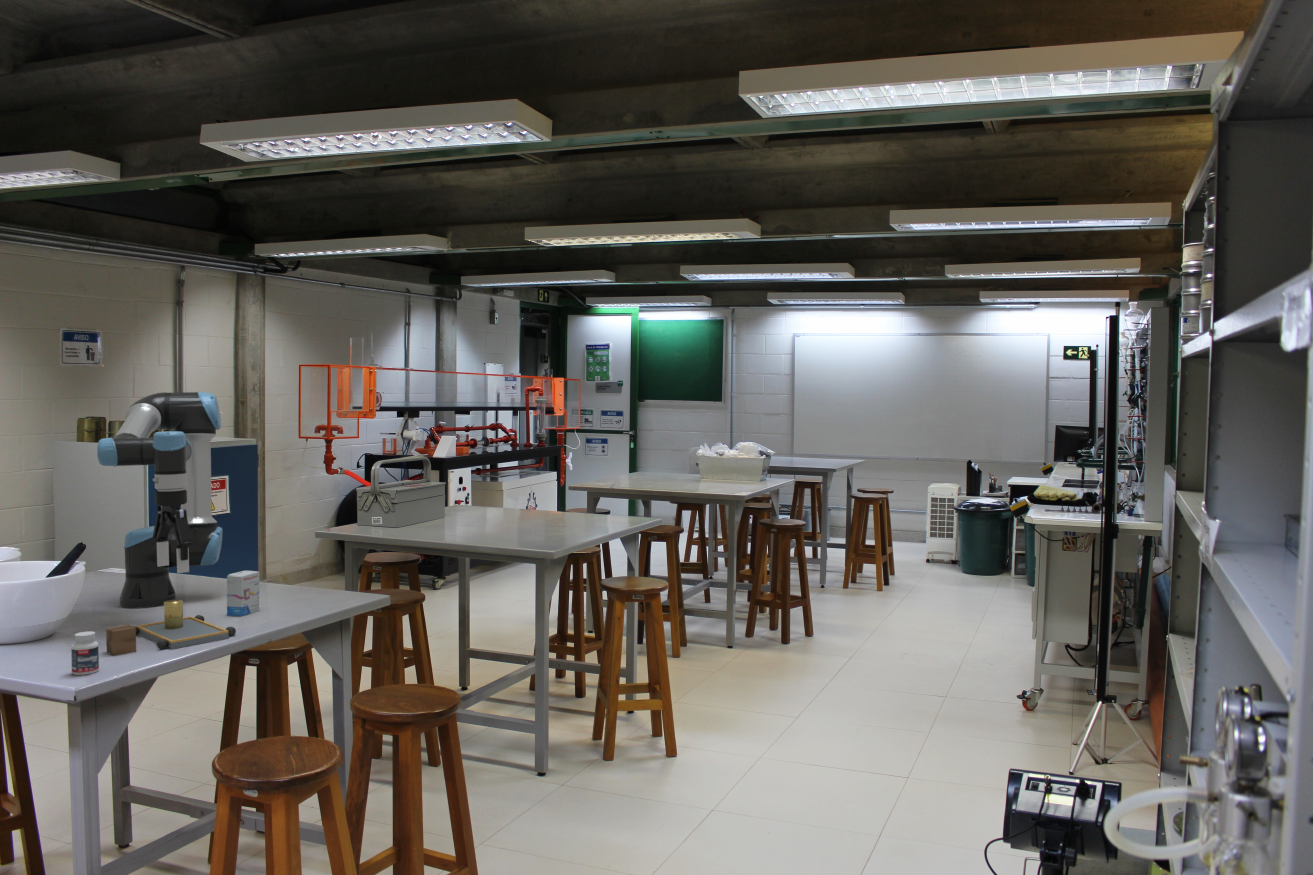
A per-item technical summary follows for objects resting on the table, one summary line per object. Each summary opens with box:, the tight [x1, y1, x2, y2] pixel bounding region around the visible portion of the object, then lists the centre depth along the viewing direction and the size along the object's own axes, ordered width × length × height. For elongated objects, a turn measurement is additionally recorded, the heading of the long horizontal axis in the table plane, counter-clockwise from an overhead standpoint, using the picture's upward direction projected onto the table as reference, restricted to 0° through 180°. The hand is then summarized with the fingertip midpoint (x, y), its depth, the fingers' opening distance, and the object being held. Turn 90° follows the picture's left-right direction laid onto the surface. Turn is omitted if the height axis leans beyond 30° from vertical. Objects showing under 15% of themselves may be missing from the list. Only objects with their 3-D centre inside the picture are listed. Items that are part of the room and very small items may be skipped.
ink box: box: [226, 570, 260, 617], centre depth 265 cm, size 8×5×12 cm, turn 168°
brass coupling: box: [163, 598, 184, 629], centre depth 242 cm, size 4×4×7 cm
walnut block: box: [105, 624, 137, 657], centre depth 224 cm, size 5×5×6 cm
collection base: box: [132, 614, 237, 650], centre depth 239 cm, size 24×19×2 cm
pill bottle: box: [70, 631, 100, 676], centre depth 207 cm, size 5×5×9 cm
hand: (173, 569), depth 242 cm, fingers open, 13 cm apart
